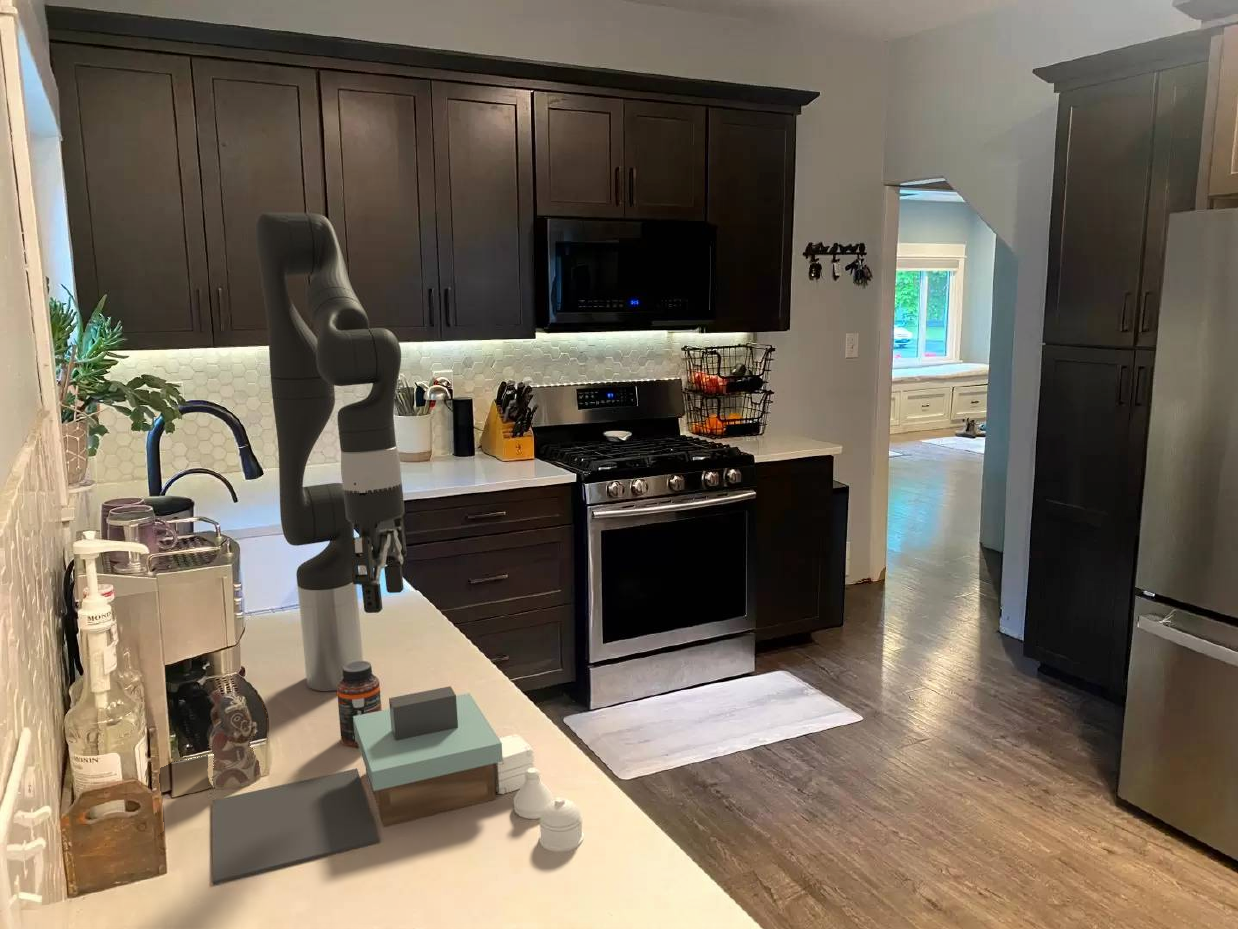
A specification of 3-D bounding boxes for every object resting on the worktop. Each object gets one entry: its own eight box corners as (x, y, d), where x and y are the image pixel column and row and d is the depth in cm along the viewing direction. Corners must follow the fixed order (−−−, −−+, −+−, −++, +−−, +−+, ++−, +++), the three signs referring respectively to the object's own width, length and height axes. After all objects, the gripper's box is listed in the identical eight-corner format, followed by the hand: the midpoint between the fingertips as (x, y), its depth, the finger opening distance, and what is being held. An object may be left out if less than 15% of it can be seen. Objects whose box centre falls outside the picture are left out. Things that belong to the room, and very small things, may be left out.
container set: (483, 781, 123) (481, 743, 122) (519, 770, 125) (517, 732, 124) (551, 859, 106) (549, 815, 105) (591, 844, 108) (590, 801, 107)
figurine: (230, 795, 120) (220, 709, 118) (196, 781, 124) (186, 698, 121) (276, 770, 126) (267, 688, 124) (242, 757, 130) (233, 677, 127)
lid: (354, 733, 124) (350, 684, 123) (470, 709, 130) (467, 663, 129) (373, 791, 110) (368, 736, 109) (502, 761, 116) (499, 709, 115)
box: (366, 772, 125) (361, 724, 124) (467, 750, 130) (464, 703, 129) (383, 827, 112) (379, 774, 111) (495, 799, 118) (492, 748, 116)
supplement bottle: (372, 750, 131) (365, 675, 129) (333, 747, 132) (326, 673, 130) (390, 730, 137) (385, 658, 134) (353, 728, 138) (347, 656, 136)
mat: (212, 803, 118) (212, 800, 118) (357, 771, 125) (357, 768, 125) (213, 884, 102) (213, 881, 102) (379, 842, 109) (379, 839, 109)
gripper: (364, 474, 129) (376, 587, 131) (322, 494, 115) (337, 620, 117) (416, 472, 128) (427, 585, 131) (381, 492, 114) (394, 618, 117)
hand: (384, 601), depth 124 cm, fingers open, 8 cm apart
